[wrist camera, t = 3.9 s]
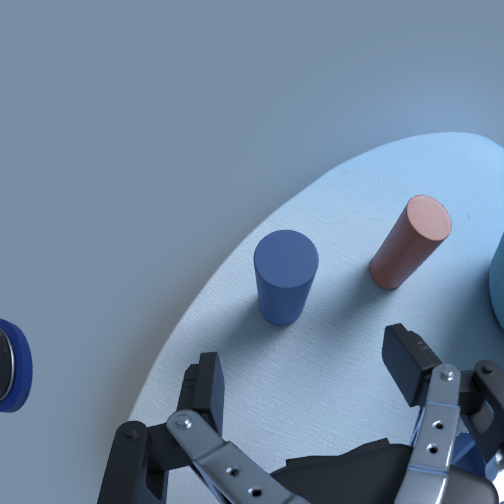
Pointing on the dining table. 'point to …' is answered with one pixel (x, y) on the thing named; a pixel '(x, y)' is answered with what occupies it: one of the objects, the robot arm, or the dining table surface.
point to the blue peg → (284, 274)
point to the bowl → (498, 282)
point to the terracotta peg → (410, 241)
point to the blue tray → (468, 455)
